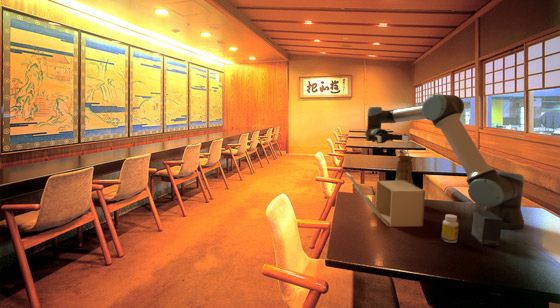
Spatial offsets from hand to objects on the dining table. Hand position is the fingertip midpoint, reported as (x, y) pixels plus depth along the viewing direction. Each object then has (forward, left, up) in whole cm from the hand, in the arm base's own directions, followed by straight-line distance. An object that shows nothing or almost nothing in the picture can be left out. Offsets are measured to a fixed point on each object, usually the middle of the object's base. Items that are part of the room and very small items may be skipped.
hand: (394, 139), depth 152 cm
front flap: (-7, +12, -35) cm, 38 cm away
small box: (-41, -10, -36) cm, 56 cm away
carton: (-10, +5, -36) cm, 38 cm away
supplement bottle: (-36, +3, -36) cm, 51 cm away
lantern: (+11, -17, -36) cm, 42 cm away
